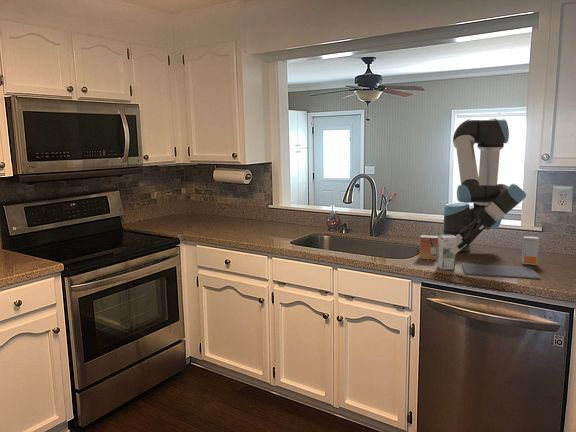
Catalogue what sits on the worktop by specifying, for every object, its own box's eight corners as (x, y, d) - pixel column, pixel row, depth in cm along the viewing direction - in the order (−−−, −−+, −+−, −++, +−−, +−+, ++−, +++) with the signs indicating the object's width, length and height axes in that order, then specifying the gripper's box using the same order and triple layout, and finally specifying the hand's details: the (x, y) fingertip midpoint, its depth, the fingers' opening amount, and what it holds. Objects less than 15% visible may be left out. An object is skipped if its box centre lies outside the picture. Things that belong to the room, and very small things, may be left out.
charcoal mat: (461, 264, 207) (461, 263, 207) (531, 268, 200) (531, 267, 200) (465, 274, 192) (465, 273, 192) (540, 279, 185) (540, 277, 185)
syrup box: (450, 266, 205) (451, 234, 202) (455, 270, 199) (456, 236, 197) (437, 266, 204) (438, 234, 202) (442, 270, 199) (443, 237, 196)
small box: (419, 259, 218) (419, 236, 217) (420, 256, 224) (420, 234, 222) (437, 260, 216) (438, 237, 214) (437, 257, 221) (438, 235, 219)
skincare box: (522, 264, 207) (524, 237, 205) (521, 261, 211) (523, 235, 209) (537, 265, 205) (539, 238, 203) (536, 263, 209) (538, 236, 207)
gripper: (502, 226, 180) (459, 262, 187) (492, 217, 204) (454, 249, 210) (488, 212, 181) (446, 249, 187) (479, 204, 205) (442, 237, 211)
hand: (450, 249), depth 199 cm, fingers open, 13 cm apart
